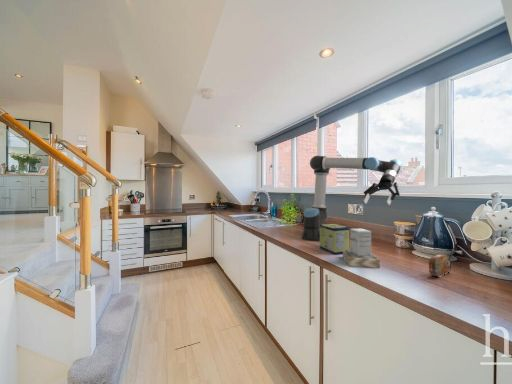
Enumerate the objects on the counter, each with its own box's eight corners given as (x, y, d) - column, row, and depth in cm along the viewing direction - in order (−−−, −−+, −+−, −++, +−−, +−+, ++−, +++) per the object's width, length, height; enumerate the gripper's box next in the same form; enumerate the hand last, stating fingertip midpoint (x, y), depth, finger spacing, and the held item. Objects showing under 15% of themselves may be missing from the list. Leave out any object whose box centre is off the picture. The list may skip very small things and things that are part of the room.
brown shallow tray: (348, 265, 101) (348, 257, 101) (342, 256, 115) (342, 249, 115) (379, 267, 98) (379, 259, 98) (370, 258, 112) (370, 250, 112)
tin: (436, 279, 86) (436, 259, 85) (427, 276, 88) (427, 257, 88) (452, 272, 92) (452, 253, 92) (443, 270, 95) (443, 252, 95)
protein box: (332, 246, 136) (332, 223, 136) (349, 253, 121) (349, 227, 121) (319, 247, 133) (319, 224, 133) (335, 255, 118) (334, 228, 118)
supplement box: (349, 251, 110) (349, 228, 110) (362, 251, 110) (362, 228, 110) (357, 256, 102) (357, 231, 102) (371, 255, 103) (371, 230, 103)
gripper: (412, 182, 122) (401, 208, 114) (370, 183, 143) (358, 205, 135) (408, 172, 119) (397, 199, 111) (366, 175, 140) (353, 198, 132)
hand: (375, 203), depth 123 cm, fingers open, 13 cm apart
